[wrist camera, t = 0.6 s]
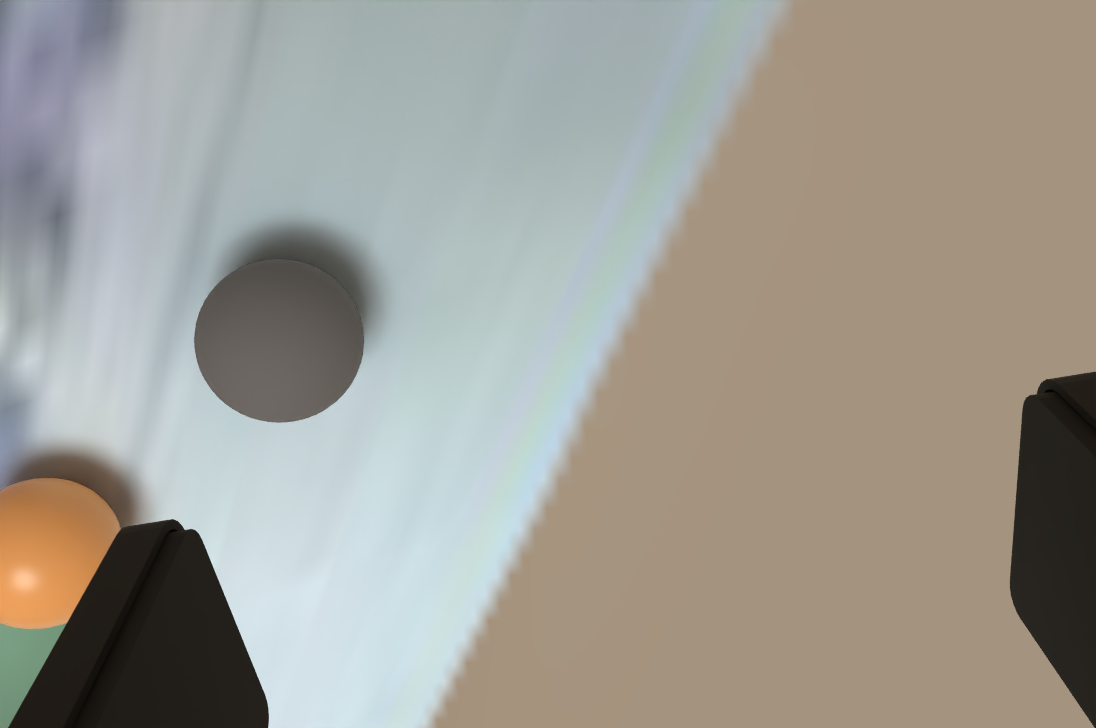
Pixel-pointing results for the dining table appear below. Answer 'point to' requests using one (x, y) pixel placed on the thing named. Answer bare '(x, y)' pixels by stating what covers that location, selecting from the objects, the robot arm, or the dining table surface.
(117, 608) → the robot arm
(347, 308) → the charcoal ball
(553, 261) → the dining table surface
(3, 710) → the green mark
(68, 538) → the orange ball
